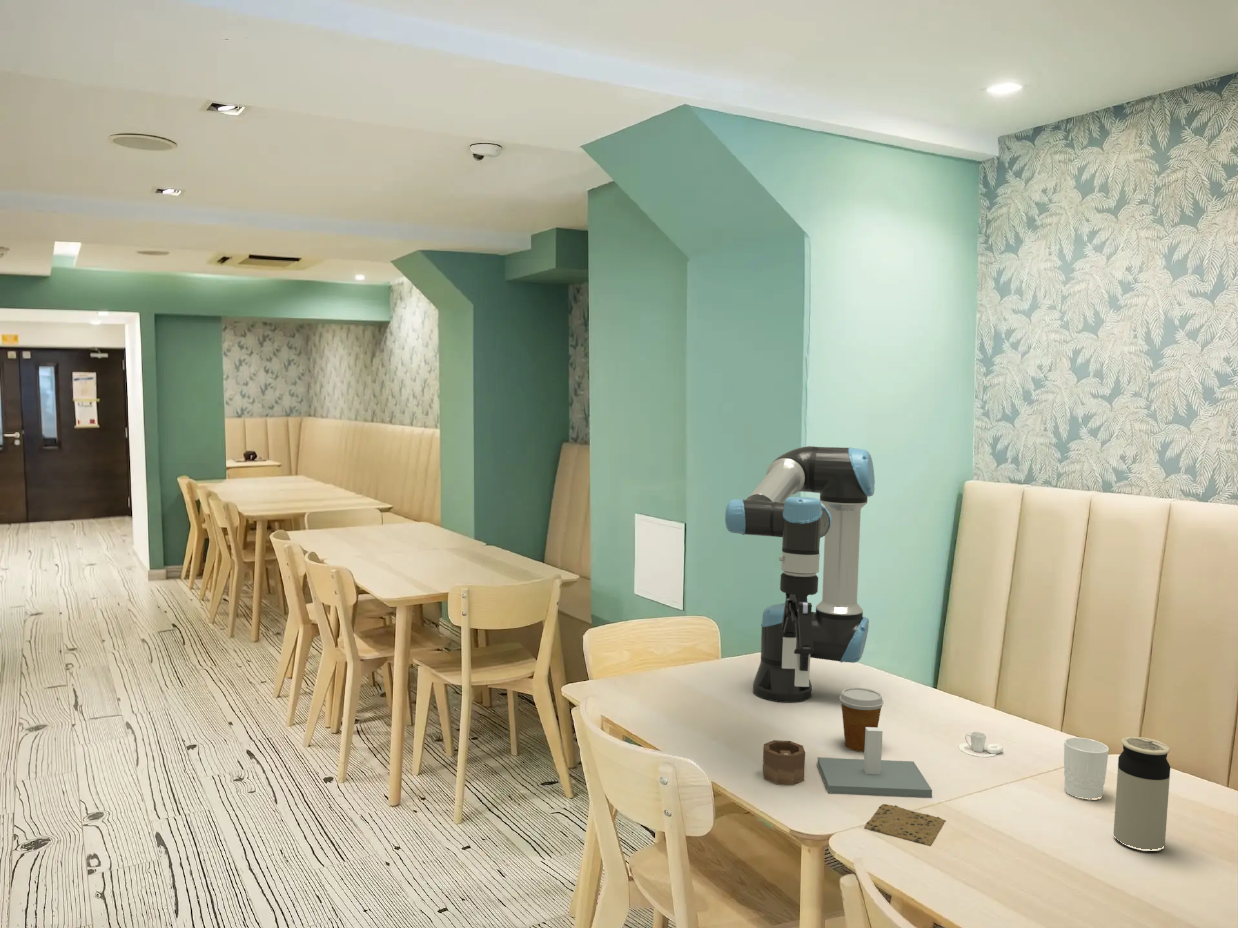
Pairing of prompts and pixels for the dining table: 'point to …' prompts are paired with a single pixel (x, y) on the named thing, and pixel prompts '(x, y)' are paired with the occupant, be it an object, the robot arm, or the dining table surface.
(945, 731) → the dining table surface
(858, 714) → the disposable coffee cup
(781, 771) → the brown octagonal ring
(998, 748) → the teacup and saucer
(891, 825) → the speckled square slab
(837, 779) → the shaft board
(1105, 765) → the white cup
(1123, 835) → the travel mug
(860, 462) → the robot arm
